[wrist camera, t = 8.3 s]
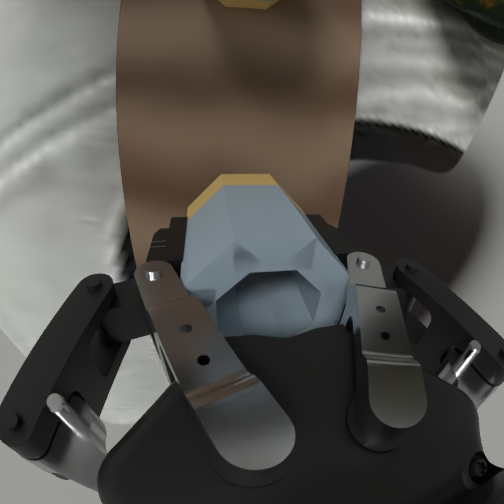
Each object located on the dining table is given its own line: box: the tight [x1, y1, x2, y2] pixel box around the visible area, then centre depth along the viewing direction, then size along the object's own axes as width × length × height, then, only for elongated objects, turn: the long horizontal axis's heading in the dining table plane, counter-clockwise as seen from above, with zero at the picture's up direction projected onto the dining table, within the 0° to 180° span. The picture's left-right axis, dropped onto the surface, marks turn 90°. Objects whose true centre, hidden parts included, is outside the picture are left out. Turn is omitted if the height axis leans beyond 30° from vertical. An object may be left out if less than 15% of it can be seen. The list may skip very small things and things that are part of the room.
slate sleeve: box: [180, 174, 349, 338], centre depth 11 cm, size 5×5×6 cm
